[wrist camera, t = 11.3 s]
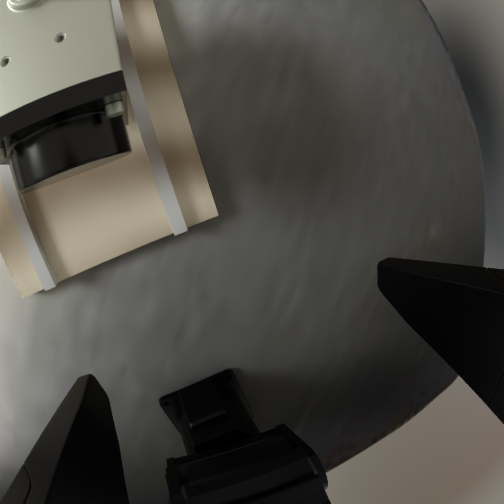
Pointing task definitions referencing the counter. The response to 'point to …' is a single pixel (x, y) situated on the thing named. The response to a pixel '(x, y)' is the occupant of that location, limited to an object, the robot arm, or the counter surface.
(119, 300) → the counter surface
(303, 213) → the counter surface
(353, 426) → the counter surface
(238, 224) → the counter surface
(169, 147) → the mounting panel
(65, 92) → the pneumatic valve
